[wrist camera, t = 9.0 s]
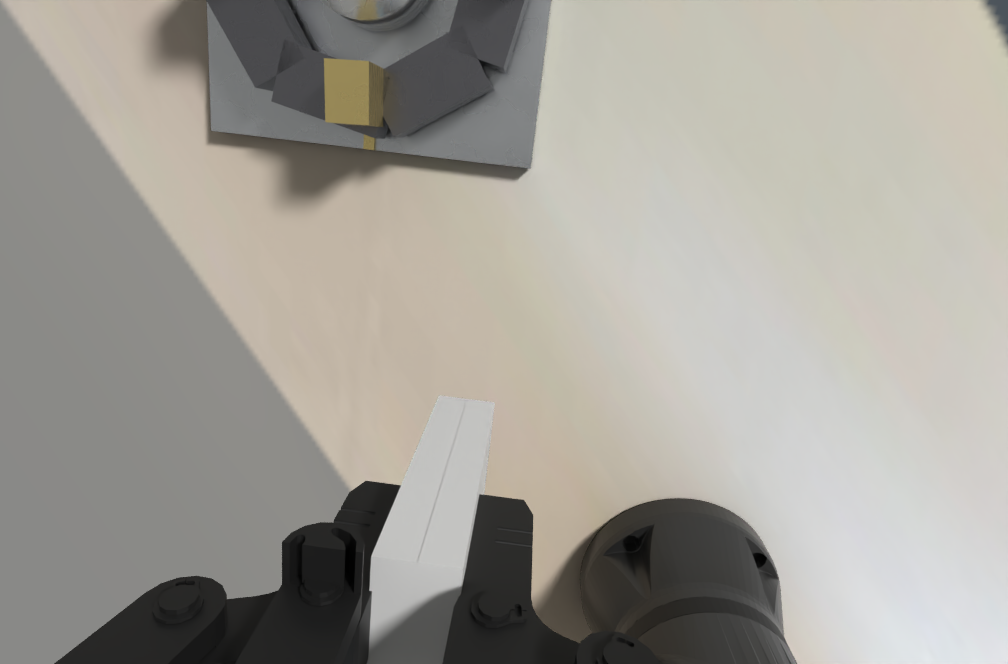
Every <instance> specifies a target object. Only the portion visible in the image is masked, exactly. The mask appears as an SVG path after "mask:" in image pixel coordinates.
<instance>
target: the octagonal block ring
mask: <svg viewBox="0 0 1008 664" xmlns="http://www.w3.org/2000/svg"><path fill="white" fill-rule="evenodd" d="M206 1H207V2H208V4H209V6H210V8H211V10H212V11H213V13H214V15H215V17H216V19H217V20H218V22H219V24H220V26H221V27H222V29H223V31H224V33H225V35H226V36H227V38H228V40H229V42H230V44H231V45H232V47H233V49H234V51H235V52H236V54H237V56H238V58H239V60H240V61H241V63H242V65H243V67H244V69H245V70H246V72H247V74H248V76H249V77H250V79H251V81H252V83H253V85H254V86H255V88H260V89H264V90H269V91H273V95H272V100H271V102H274V103H277V104H280V105H283V106H285V107H288V108H291V109H294V110H297V111H300V112H302V113H305V114H308V115H311V116H314V117H316V118H319V119H322V120H325V122H328V123H333V124H336V125H339V126H342V127H345V128H347V129H350V130H353V131H356V132H359V133H361V134H364V135H367V136H370V137H373V138H380V139H385V138H386V134H387V130H388V126H389V128H390V130H391V132H392V134H393V136H394V137H402V138H404V137H405V136H407V135H409V134H411V133H413V132H415V131H417V130H418V129H420V128H422V127H424V126H426V125H428V124H430V123H431V122H433V121H435V120H437V119H439V118H441V117H443V116H444V115H446V114H448V113H450V112H452V111H454V110H456V109H457V108H459V107H461V106H463V105H465V104H467V103H469V102H470V101H472V100H474V99H476V98H478V97H480V96H482V95H484V94H485V93H487V92H489V91H491V90H493V87H492V85H491V82H490V80H489V78H488V76H487V74H486V72H485V69H484V67H483V65H484V66H487V67H490V68H492V69H495V70H498V71H501V72H503V73H506V72H507V69H508V66H509V63H510V59H511V56H512V53H513V50H514V47H515V43H516V40H517V37H518V34H519V31H520V28H521V24H522V21H523V18H524V15H525V12H526V8H527V5H528V2H529V0H458V2H457V6H456V10H455V13H454V17H453V20H452V24H451V27H450V31H449V32H448V33H446V34H445V35H443V36H441V37H439V38H438V39H436V40H434V41H432V42H430V43H429V44H427V45H425V46H423V47H422V48H420V49H418V50H416V51H415V52H413V53H411V54H409V55H407V56H406V57H404V58H402V59H400V60H399V61H397V62H395V63H393V64H392V65H390V66H388V67H386V68H385V69H383V68H382V67H380V66H378V65H376V64H374V63H372V62H370V61H360V60H345V59H337V58H334V57H331V56H328V55H326V54H323V53H320V52H317V51H315V50H313V49H312V47H311V46H310V44H309V42H308V40H307V38H306V36H305V34H304V32H303V30H302V29H301V27H300V25H299V23H298V21H297V19H296V17H295V15H294V13H293V11H292V10H291V8H290V6H289V4H288V2H287V0H206Z"/></svg>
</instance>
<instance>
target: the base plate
mask: <svg viewBox="0 0 1008 664" xmlns="http://www.w3.org/2000/svg"><path fill="white" fill-rule="evenodd" d="M287 2H288V4H289V6H290V8H291V10H292V11H293V13H294V15H295V17H296V19H297V21H298V23H299V25H300V27H301V29H302V30H303V32H304V34H305V36H306V38H307V40H308V42H309V44H310V46H311V47H312V49H313V50H315V51H317V52H320V53H323V54H326V55H328V56H331V57H334V58H337V59H345V60H360V61H370V62H372V63H374V64H376V65H378V66H380V67H382V68H383V69H385V68H386V67H388V66H390V65H392V64H393V63H395V62H397V61H399V60H400V59H402V58H404V57H406V56H407V55H409V54H411V53H413V52H415V51H416V50H418V49H420V48H422V47H423V46H425V45H427V44H429V43H430V42H432V41H434V40H436V39H438V38H439V37H441V36H443V35H445V34H446V33H448V32H449V31H450V27H451V24H452V20H453V17H454V13H455V10H456V6H457V2H458V0H287ZM550 6H551V0H529V2H528V5H527V8H526V12H525V15H524V18H523V21H522V24H521V28H520V31H519V34H518V37H517V40H516V43H515V47H514V50H513V53H512V56H511V59H510V63H509V66H508V69H507V72H506V73H503V72H501V71H498V70H495V69H492V68H490V67H487V66H484V65H483V67H484V69H485V72H486V74H487V76H488V78H489V80H490V82H491V85H492V87H493V90H491V91H489V92H487V93H485V94H484V95H482V96H480V97H478V98H476V99H474V100H472V101H470V102H469V103H467V104H465V105H463V106H461V107H459V108H457V109H456V110H454V111H452V112H450V113H448V114H446V115H444V116H443V117H441V118H439V119H437V120H435V121H433V122H431V123H430V124H428V125H426V126H424V127H422V128H420V129H418V130H417V131H415V132H413V133H411V134H409V135H407V136H405V137H404V138H402V137H394V136H393V134H392V132H391V130H390V128H389V126H388V130H387V134H386V138H385V139H380V138H373V137H370V136H367V135H364V134H361V133H359V132H356V131H353V130H350V129H347V128H345V127H342V126H339V125H336V124H333V123H328V122H325V120H322V119H319V118H316V117H314V116H311V115H308V114H305V113H302V112H300V111H297V110H294V109H291V108H288V107H285V106H283V105H280V104H277V103H274V102H271V100H272V95H273V91H269V90H264V89H260V88H255V86H254V85H253V83H252V81H251V79H250V77H249V76H248V74H247V72H246V70H245V69H244V67H243V65H242V63H241V61H240V60H239V58H238V56H237V54H236V52H235V51H234V49H233V47H232V45H231V44H230V42H229V40H228V38H227V36H226V35H225V33H224V31H223V29H222V27H221V26H220V24H219V22H218V20H217V19H216V17H215V15H214V13H213V11H212V10H211V8H210V6H209V4H208V2H207V25H208V54H209V83H210V112H211V131H218V132H226V133H235V134H243V135H251V136H260V137H268V138H277V139H285V140H294V141H302V142H310V143H319V144H327V145H336V146H344V147H353V148H361V149H368V150H378V151H386V152H395V153H403V154H412V155H420V156H429V157H437V158H445V159H454V160H462V161H471V162H479V163H488V164H496V165H504V166H513V167H521V168H530V169H531V162H532V154H533V146H534V137H535V129H536V121H537V113H538V104H539V96H540V88H541V80H542V71H543V63H544V55H545V47H546V38H547V30H548V22H549V14H550Z"/></svg>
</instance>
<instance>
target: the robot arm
mask: <svg viewBox="0 0 1008 664" xmlns="http://www.w3.org/2000/svg"><path fill="white" fill-rule="evenodd" d="M494 405H495V402H487V401H479V400H471V399H464V398H456V397H448V396H440V395H439V397H438V399H437V401H436V404H435V406H434V409H433V411H432V413H431V416H430V418H429V420H428V423H427V425H426V428H425V430H424V432H423V435H422V437H421V439H420V442H419V444H418V446H417V449H416V451H415V454H414V456H413V458H412V461H411V463H410V465H409V468H408V470H407V473H406V475H405V477H404V480H403V482H402V484H401V485H393V484H386V483H378V482H371V481H365V482H364V483H362V484H361V485H359V486H358V487H357V488H355V489H354V490H352V491H351V492H349V494H348V496H347V498H346V500H345V501H344V503H343V505H342V507H341V510H340V511H339V512H338V514H337V516H336V517H335V519H334V523H316V524H312V525H307V526H304V527H302V528H300V529H298V530H296V531H294V532H292V533H291V534H290V535H289V536H288V537H287V538H286V539H285V540H284V541H283V542H282V585H281V587H280V589H279V590H278V591H275V592H272V593H269V594H265V595H260V596H253V597H245V598H235V599H227V595H226V593H225V591H224V588H223V586H222V585H221V584H219V583H218V582H216V581H215V580H213V579H211V578H205V577H200V576H191V577H181V578H176V579H173V580H170V581H167V582H164V583H161V584H159V585H158V586H156V587H154V588H153V589H151V590H149V591H148V592H146V593H145V594H143V595H142V596H141V597H139V598H138V599H137V600H136V601H135V602H133V603H132V604H130V605H129V606H128V607H127V608H125V609H124V610H123V611H122V612H120V613H119V614H118V615H116V616H115V617H114V618H112V619H111V620H110V621H109V622H107V623H106V624H105V625H104V626H102V627H101V628H100V629H98V630H97V631H96V632H94V633H93V634H92V635H91V636H89V637H88V638H87V639H85V640H84V641H83V642H82V643H80V644H79V645H78V646H77V647H75V648H74V649H73V650H71V651H70V652H69V653H68V654H66V655H65V656H64V657H62V658H61V659H60V660H58V661H57V662H56V663H55V664H797V662H796V660H795V658H794V656H793V654H792V653H791V651H790V649H789V647H788V645H787V643H786V640H785V638H784V630H783V616H782V602H781V589H780V581H779V577H778V574H777V570H776V567H775V565H774V562H773V560H772V558H771V557H770V555H769V553H768V551H767V549H766V547H765V546H764V544H763V542H762V540H761V539H760V537H759V536H758V534H757V533H756V532H755V531H754V530H753V528H752V527H751V526H750V525H749V524H748V523H746V522H745V521H744V520H743V519H742V518H740V517H739V516H737V515H736V514H734V513H733V512H731V511H729V510H727V509H725V508H723V507H720V506H718V505H715V504H712V503H709V502H705V501H700V500H694V499H681V498H677V499H663V500H657V501H652V502H648V503H645V504H642V505H639V506H636V507H634V508H632V509H629V510H627V511H625V512H624V513H622V514H620V515H619V516H617V517H616V518H614V519H613V520H611V521H610V522H609V523H608V524H607V525H605V526H604V527H603V528H602V529H601V530H600V532H599V533H598V534H597V535H596V536H595V538H594V539H593V540H592V542H591V544H590V545H589V547H588V549H587V551H586V553H585V556H584V559H583V562H582V566H581V573H580V586H581V597H582V606H583V610H584V614H585V617H586V620H587V623H588V625H589V628H590V629H591V631H592V633H593V634H590V635H589V636H588V637H586V638H585V639H584V640H582V641H581V643H577V642H575V641H572V640H570V639H568V638H565V637H563V636H561V635H559V634H557V633H556V632H554V631H552V630H551V629H550V628H548V627H547V626H546V625H545V624H543V622H542V621H541V620H540V619H539V618H538V616H537V615H536V613H535V611H534V609H533V607H532V601H531V579H532V541H533V535H532V534H533V514H532V512H531V511H530V509H529V507H528V506H527V504H526V502H525V501H524V500H519V499H511V498H504V497H496V496H489V495H484V491H485V483H486V474H487V465H488V457H489V448H490V440H491V431H492V422H493V414H494Z"/></svg>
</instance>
